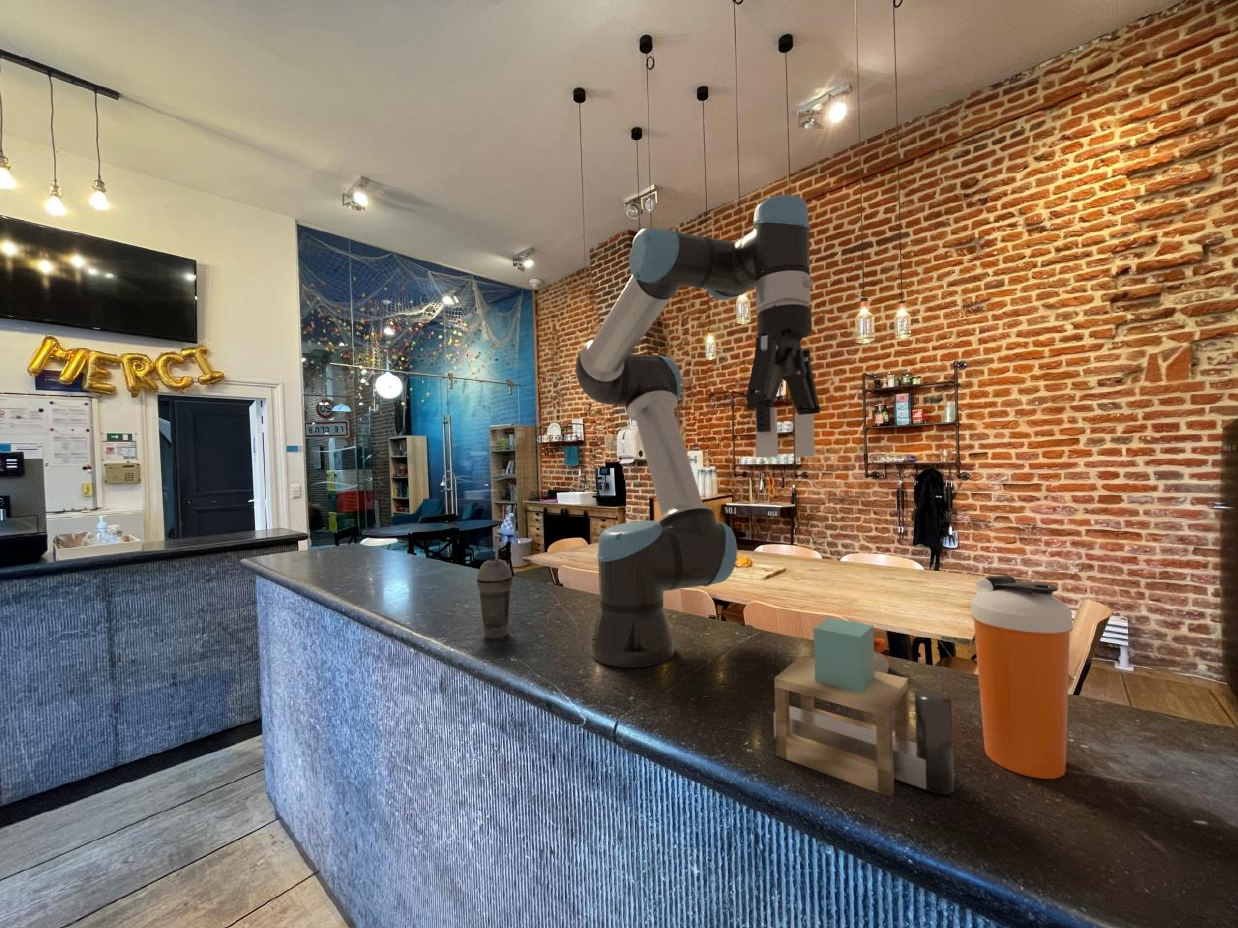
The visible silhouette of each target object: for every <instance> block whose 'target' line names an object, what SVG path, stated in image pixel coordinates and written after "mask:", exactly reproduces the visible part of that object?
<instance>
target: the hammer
mask: <svg viewBox="0 0 1238 928" xmlns="http://www.w3.org/2000/svg"><path fill="white" fill-rule="evenodd" d="M914 708H915V709H914V710H915V711H914V713H915V714H914V715H915V716H914V717H915V741H916V742H915V741H911V740H910V741H909V740H905V739H902V738H898V737H895V736H892V739H893V774H894V779H895V780H897V781H900V782H902V783H907V784H909V785H912V786H915V787H918V788H921V789H924V790H926V791H929V792H931V793H934V794H938V795H951V794H952V793H953V792H954V791H955V788H954V787H955V785H954V783H955V780H954V779H955V778H954V753H953V751H954V750H953V747H954V746H953V721H952V719H953V718H952V699H951V698H950V696H948V695H946V694H945V693H942V692H939V691H936V690H935V691H934V690H929V689H921V690H917V691H915V692H914ZM789 711H790V733H791V734H794V735H797V736H800V737H803V738H806V739H810V740H813V741H816V742H819V743H822V744H825V745H828V746H831V747H834V748H837V749H840V750H843V751H846V752H849V753H852V754H855V755H858V756H861V757H864V758H867V759H870V760H873V761H876V762H877V737H876V731H874V730H871V729H868V728H864V727H861V726H857V725H854V724H851V723H847V722H844V721H840V720H837V719H834V718H830V717H827V716H823V715H820V714H816V713H813V712H810V711H806V710H803V709H801V708H799V707H795V706H792V705H789ZM773 735H774V736H773V738H774V739H776V719H775V711H774V712H773Z"/></svg>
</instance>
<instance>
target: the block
mask: <svg viewBox="0 0 1238 928" xmlns="http://www.w3.org/2000/svg"><path fill="white" fill-rule="evenodd" d="M874 639H875V638H874V625H873V624H869V623H868V624H867V623H862V622H857V621H851V620H850V621H849V620H843V619H838V618H832V617H826V619H825V620H823V621H822V622H820V623H819V624H818V625H816V626H815V627H814V628H813V653H814V654H813V655H814V656H813V657H814V661H815V681H816V682H820V683H824V684H828V685H832V686H836V687H840V688H844V689H848V690H852V691H856V692H859V693H863V692H864V690H865V689H866V688H867V687H868V685H869V684H870V683H871V682H872V680H873V679H874V678H875V672H874Z"/></svg>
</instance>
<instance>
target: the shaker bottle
mask: <svg viewBox="0 0 1238 928" xmlns="http://www.w3.org/2000/svg"><path fill="white" fill-rule="evenodd" d="M975 589H976V591H975V592H976V594H975V595H974V596H972V598H971V600H970V610H971V611H970V616H971V618H972V619H973V626H974V627H973V628H974V637H975V638H974V639H975V647H976V648H975V650H976V662H977V673H978V683H979V684H978V685H979V686H978V687H979V698H980V708H981V722H982V731H983V734H982V735H983V743H984V746H983V747H984V752H985V754H986V756H987V757H988V758H989V759H990V760H991V761H993V762H994V763H995V764H997V765H998V766H1000V767H1002V768H1004V769H1006V770H1008V771H1010V772H1012V773H1015V774H1018V775H1022V776H1025V777H1030V778H1035V779H1044V780H1053V779H1059V778H1060V777H1063V776H1064V775H1065V774H1066V770H1067V769H1066V767H1067V765H1066V764H1067V736H1068V735H1067V733H1068V732H1067V731H1068V729H1067V728H1068V706H1069V705H1068V704H1069V703H1068V700H1069V699H1068V698H1069V697H1068V696H1069V671H1070V670H1069V669H1070V668H1069V665H1070V634H1071V633H1070V632H1072V631H1073V613H1072V610H1071V609H1070V608H1069V607H1068V606H1067V605H1066V604H1065V602H1064V601H1062V600H1060V599H1059V598H1057V597H1055V596H1053V593H1054V592H1057V591H1059V588H1058V587H1057V586H1055V585H1053V584H1049V583H1043V582H1036V581H1035V582H1034V581H1023V580H1022V581H1018V580H1017V579H1016V577H1014V576H1012V575H998V576H997V575H996V576H989V577H988V576H987V577H981V578H978V580H977V581H976V588H975Z"/></svg>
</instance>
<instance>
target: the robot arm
mask: <svg viewBox="0 0 1238 928" xmlns="http://www.w3.org/2000/svg"><path fill="white" fill-rule="evenodd" d="M808 212H809V210H808V205H807V202H806V200H804V198H802V197H800V196H798V195H797V196H796V195H793V194H779V195H774V196H772V197H769V198H766V199H765V200H763V201H762V202H760V203H759V204H758V205H757V206H756V208H755V210H754V214H753V215H754V216H753V220H752V222H753V223H752V225H753V230H751V231H750V232H748V233H747V234H745V235H744V236H743V237H741V238H739V240H735V241H731V240H725V239H720V238H714V237H708V236H702V235H701V236H700V235H696V234H691V233H686V232H680V231H676V230H671V229H669V228H653V227H645V228H642V229H641V230H639V231H638V232H637V233H636V235H635V236H634V239H633V241H632V245H631V246H632V247H631V248H630V251H629V258H628V262H629V270H630V273H631V277H630V278H629V280H628V281H627V283H626V284H625V287H624V288H623V290H622V292H621V293H620V295H619V296H618V298H617V300H616V301H615V303H614V304H613V306H612V308H610V309H611V310H610V312H608V314H607V316H606V318H605V319H604V321H603V323H602V325H601V326H600V327H599V330H598V331H597V333H596V334H595V336H594V338H593V339H592V340H589V341H587V342H586V343H585V344H584V345H583V346H582V348H581V349H580V351H579V354H578V355H577V358H576V361H575V376H576V380H577V383H578V384H579V386H580V388H581V390H582V391H583V392H584V394H586V396H588V397H589V398H590V399H591V400H594V401H595V402H597V403H599V404H602V405H607V406H608V405H609V406H610V405H611V406H624V407H625V410H626V414H627V417H628V418H629V419H630V420H632V421H634V422H635V423H636V425H637V429H638V434H639V437H640V441H641V444H642V448H643V451H644V455H645V458H646V462H647V466H648V470H649V474H650V477H651V478H650V479H651V481H652V486H653V489H654V492H655V495H656V499H657V504H658V507H659V511H660V514H661V517H660V519H659V520H658V521H656V520H642V521H641V520H640V521H631V522H630V521H629V522H625V523H620V524H617V525H612V526H610V527H608V528H606V529H604V530H603V531H602V532H601V533H600V535H599V537H598V553H597V561H598V562H597V563H598V585H599V586H598V587H599V589H598V590H599V613H598V617H597V620H596V622H595V623H596V624H595V628H594V632H593V633H594V634H593V635H592V638H591V643H590V649H591V650H590V651H591V652H590V653H591V657H592V658H593V659H594V660H595V661H597V662H598V663H601V664H603V665H606V666H610V667H617V668H624V669H625V668H627V669H628V668H632V669H636V668H637V669H638V668H646V667H651V666H657V665H660V664H663V663H665V662H667V661H669V660H670V659H672V658H673V656H675V655H674V654H675V638H674V636H673V634H672V632H671V628H670V625H669V622H668V619H667V616H666V612H665V607H664V592H665V591H673V590H681V589H687V588H697V587H709V586H711V585H715V584H719V583H723V582H725V581H726V580H727V579H729V578H730V577H731V575H732V574H733V571H734V570H735V567H736V562H737V559H738V546H737V539H736V536H735V533H734V532H733V530H732V528H731V527H730V526H728V525H727V524H726V523H724V522H719V521H717V520H716V515H715V513H714V510H713V508H710V507H708V506H707V505H705V504H704V503H703V501H702V497H701V494H700V491H699V487H698V484H697V482H696V477H695V475H694V472H693V469H692V466H691V462H690V460H689V456H688V453H687V450H686V446H685V443H684V440H683V436H682V434H681V431H680V428H679V424H678V421H677V417H676V414H675V411H674V410H675V408H676V407H677V405H678V401H679V400H680V398H681V394H682V390H683V389H682V388H683V387H682V385H681V383H682V375H681V372H680V369H679V367H678V365H677V363H675V361H674V360H673V359H672V358H669V357H668V356H663V355H658V354H654V353H651V354H650V353H649V354H637V353H632V351H633V350H634V349H635V348H636V347H637V346H638V344H639V343H640V341H641V339H642V338H643V337H644V336H645V335H646V333H647V332H648V330H649V329H650V328H651V326H652V325H653V324H654V322H655V321H656V319H657V318H658V317H659V316H660V314H661V313H662V311H663V310H664V309H665V308H666V306H667V304H668V303H670V301H671V300H672V298H673V297H674V296H675V295H676V294H677V292H678V291H679V289H680V288H681V287H686V288H687V287H688V288H689V287H690V288H695V289H696V288H697V289H703V290H706V291H707V292H708V293H709V295H712V296H713V297H714V298H715V299H717V300H721V301H727V300H732V299H733V298H737V297H740V296H743V295H744V294H746V293H748V291H750V290H752V289H754V288H755V307H756V309H755V310H756V311H757V312H758V313H757V315H756V336H757V337H756V338H755V353H754V356H753V357H754V359H753V362H752V367H751V371H750V378H749V381H748V386H747V391H746V396H745V398H746V402H747V404H746V405H747V409H749V410H750V409H751V410H752V409H755V410H754V411H755V413H754V414H755V446H756V448H755V450H756V458H778V457H779V445H778V444H779V441H778V440H779V439H778V437H779V436H778V435H779V434H778V433H779V432H778V407H773V406H774V404H775V401H776V398H777V396H778V392H779V390H780V387H781V384H782V381H786V383H787V387H788V390H789V393H790V395H791V398H792V401H793V405H794V408H795V410H796V414H795V415H794V441H795V442H794V443H795V444H794V447H795V458H811V457H816V451H815V450H816V447H815V446H816V445H815V443H816V442H815V441H816V440H815V417H814V416H815V415H816V414H817V415H818V414H820V413H821V408H820V403H819V398H818V395H817V389H816V385H815V384H816V383H815V378H814V373H813V368H812V361H811V351H810V348H804V349H802V345H801V341H802V340H803V339H804V338H807V337H808V336H810V335H811V333H812V331H813V324H812V323H813V321H812V316H813V315H812V309H811V308H810V307H809V306H810V305H811V302H812V301H811V297H812V295H811V287H813V286H814V284H815V282H814V280H813V279H811V261H810V260H811V259H810V258H811V257H810V256H811V255H810V253H811V250H810V230H811V226H810V219H809V213H808Z"/></svg>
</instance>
